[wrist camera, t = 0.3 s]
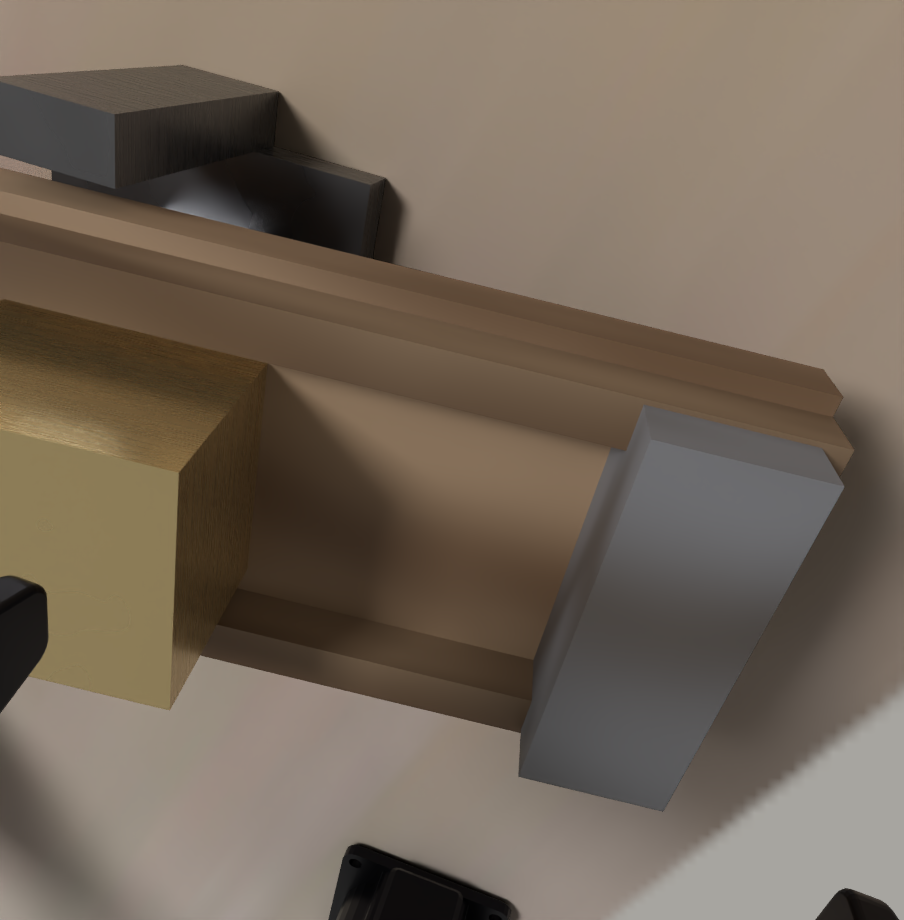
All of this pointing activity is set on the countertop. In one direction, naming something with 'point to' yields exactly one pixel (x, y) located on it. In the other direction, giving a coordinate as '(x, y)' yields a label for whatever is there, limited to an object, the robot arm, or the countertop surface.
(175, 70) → the trestle
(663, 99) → the countertop surface
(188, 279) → the beam
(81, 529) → the block
